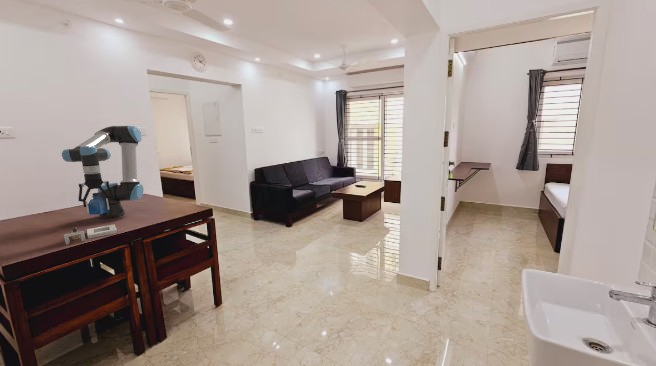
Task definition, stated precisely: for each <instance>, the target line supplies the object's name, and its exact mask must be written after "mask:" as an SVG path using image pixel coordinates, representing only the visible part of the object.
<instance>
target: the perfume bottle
mask: <svg viewBox="0 0 656 366" xmlns="http://www.w3.org/2000/svg"><path fill="white" fill-rule="evenodd" d="M91 198H92V199H90V200H89V202H87V203H88V208H89V216H90V215H91V216H92V215H99V214H103V213H105V212H108V208H107V202H106V201H105V200H104V199H103V198H100V195H99V193H98V192H94V193H92V195H91Z"/></svg>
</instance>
